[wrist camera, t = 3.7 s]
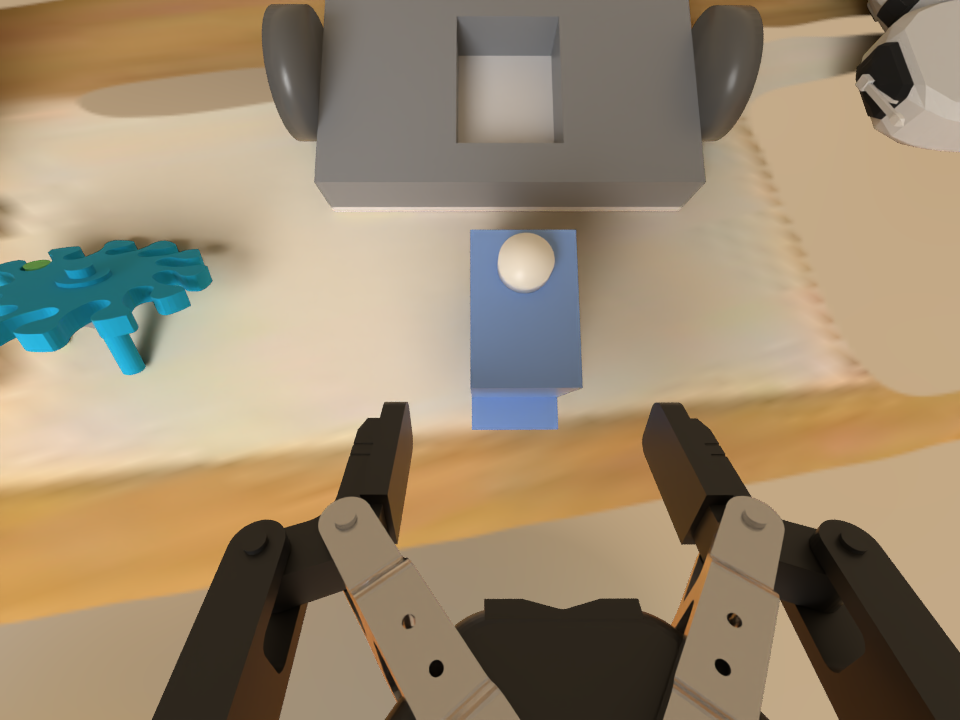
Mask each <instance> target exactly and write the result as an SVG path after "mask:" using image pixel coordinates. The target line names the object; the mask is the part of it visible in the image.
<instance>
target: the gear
mask: <svg viewBox="0 0 960 720" xmlns="http://www.w3.org/2000/svg"><path fill="white" fill-rule="evenodd" d="M48 254H49V255H50V257H51V259H52V262H50V261H49V260H38V261H33V262H29V263H26V262H25V261H23V260H17V261H12V262H7V263H3V264H0V346H2V345H3V344H5V343H7V342H8V341H10V340H12V339H14V338H17V339H18V340H19V342H20V343H21V345H22V346H23V347H24V349H25V350H26V351H31V352H53V351H56V350H59V349H61V348H62V347H64V346H65V345H67V343H68V342H69V339H70V337H71V336H72V335H73V334H74V333H75V332H76V331H77V330H79V329H80V328H82V327H84V326H86V327H91V328H96V329H97V331H98V333H99V335H100V336H101V338H103V339H104V341H105V342H106V344H107V346H108V348H109V350H110V351H111V353H112V355H113V357H114V358H115V360H116V362H117V364H118V365H119V367H120V369H121V371H122V372H123V374H125V375H133V374H137V373H139V372H141V371H143V370H144V369H145V367H146V366H145V364H144V362H143V360H142V358H141V356H140V354H139V352H138V350H137V348H136V347H135V345H134V343H133V341H132V339H131V337H130V335H129V333H133V332H135V331H137V329H138V325H137V323H136V321H135V319H134V317H133V315H132V311H133V310H134V308H135V307H136V306H138V305H140V304H142V303H146V302H153V303H154V305H155V307H156V309H157V311H158V313H159V314H161V315H169V314H173V313H176V312H178V311H181V310H183V309H185V308H187V307H189V306H191V304H190V301H189V299H188V296H187V294H186V291H185V289H186V290H187V291H201V290H203V289H205V288H206V287H208V286H209V285H210V284H211V282H212V278H211V275H210V272H209V270H208V267H207V266H205V265H204V262H203V259H202V257H201V254H200V251H199V250H198V249H191V250H185V251H182V252H179V251H178V249H177V246H176V244H175V243H172V242H169V241H159V242H155V243H153V244H151V245H149V246H147V247H145V248H142V249H139V250H138V249H137V247H136V245H135V243H134V241H127V240H114V241H110V242H108V243H106V244H105V245H104V247H103V248H102V249H101V250H100V251H98V252H96V253H94V254H91V255H89V256H86V257H85V255H84V253H83V252H82V250H81V248H80V247H79V246H77V247H66V248H59V249H52V250H50V251H49V252H48ZM174 285H178V286H174Z"/></svg>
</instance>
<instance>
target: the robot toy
mask: <svg viewBox="0 0 960 720" xmlns="http://www.w3.org/2000/svg"><path fill="white" fill-rule="evenodd" d="M867 7H868V9H869V11H870V13H871V14H872V18H873V20H874V21H875V22H877V21H878V22H879V23H880V25H881V27H882V28H883V30H884V31H885V33H884V34H883V35H882V36H881V37H880V38H879V39H878V40H877V41H876V42H875V44H874V45H873V46H872V47H871V48H870V49H869V50H868V51H867V52H866V53H865V54H864V55H863V58H862V61H861V64H860V65H859V66H858V67H857V71H856V82H857V83H856V84H855V85H856V87H857V88H858V89H859V91H860V94H861V97H862V100H863V103H864V106H865V109H866V112H867V115H868V116H870V117H871V120H872V123H873V126H874V128H875V129H876V130H878V131H879V132H881V133H883V134H884V135H886V136H887V137H889V138H891V139H893V140H894V141H896V142H897V143H900V144H904V145H909V146H913V147H919V148H924V149H930V150H939V151H951V152H960V0H868V4H867Z"/></svg>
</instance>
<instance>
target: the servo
mask: <svg viewBox="0 0 960 720" xmlns="http://www.w3.org/2000/svg"><path fill="white" fill-rule="evenodd" d="M470 298H471V394H472V430H530V429H558V411H557V397H559V396H561V395H564V394H567V393H570V392H572V391H575V390H578V389H580V388H583V386H582V362H581V338H580V313H579V289H578V265H577V241H576V230H470Z"/></svg>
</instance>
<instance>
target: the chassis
mask: <svg viewBox="0 0 960 720" xmlns="http://www.w3.org/2000/svg"><path fill="white" fill-rule="evenodd" d="M262 47H263V56H264V63H265V69H266V74H267V78H268V82H269V86H270V90H271V93H272V97H273V100H274V103H275V105H276V108H277V110H278V113H279V115H280V117H281V119H282V121H283V123H284V125H285V127H286V129H287V130H288V131H289V133H290V134H291V135H292V136H293V137H294V138H295V139H296V140H298V141H317V147H316V163H315V180H314V182H315V184H316V185H317V187H318V188H319V190H320V191H321V193H322V194H323V196H324V197H325V199H326V200H327V202H328V203H329V205H330V206H331V208H332V209H333V211H334V212H392V211H679V210H680V209H681V208H682V207H683V206H684V205H685V204H686V202H687V201H688V200H689V199H690V198H691V197H692V196H693V195H694V194H695V193H696V192H697V191H698V190H699V189H700V188H701V186H702V185H703V184H704V183H705V182H706V181H705V170H704V160H703V149H702V141H716V140H719V139H721V138H722V137H723V136H725V135H726V134H727V133H728V132H729V131H730V130H731V129H732V127H733V126H734V125H735V123H736V122H737V120H738V119H739V117H740V116H741V114H742V112H743V110H744V109H745V106H746V104H747V102H748V100H749V98H750V95H751V93H752V90H753V88H754V85H755V82H756V78H757V75H758V71H759V67H760V63H761V57H762V50H763V24H762V19H761V16H760V14H759V12H758V10H757V9H756V8H755V7H753V6H743V5H714V6H711V7H709V8H708V9H706V10H705V11H704V12H703V13H702V15H701V16H700V17H699V18H698V20H697V21H696V23H695V24H694V26H693V28H692V29H691V20H690V9H689V0H325V14H324V29H323V26H322V24H321V21H320V19H319V17H318V16H317V14H316V12H315V11H314V9H313V8H312V7H311V6H309V5H307V4H271V5H269V6H268V7H267V9H266V11H265V13H264V17H263V23H262Z"/></svg>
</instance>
